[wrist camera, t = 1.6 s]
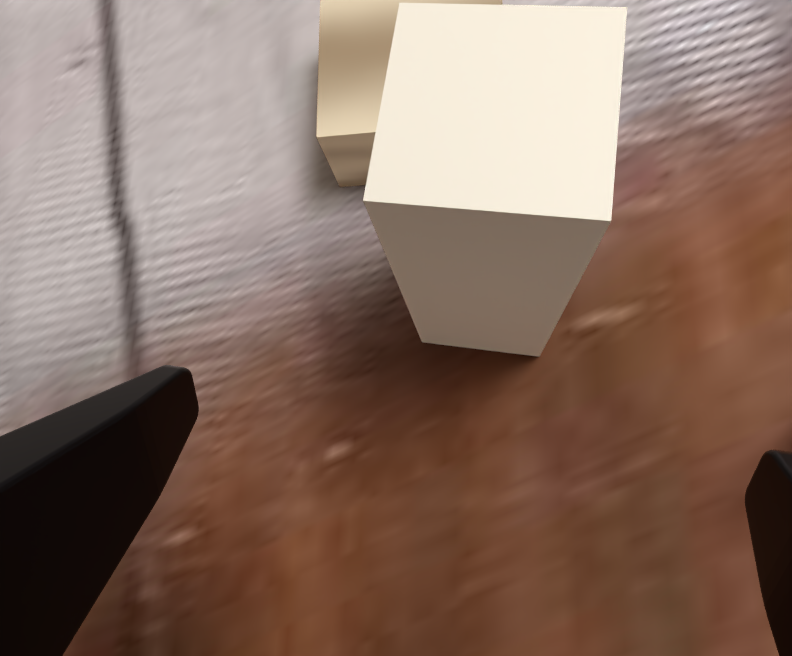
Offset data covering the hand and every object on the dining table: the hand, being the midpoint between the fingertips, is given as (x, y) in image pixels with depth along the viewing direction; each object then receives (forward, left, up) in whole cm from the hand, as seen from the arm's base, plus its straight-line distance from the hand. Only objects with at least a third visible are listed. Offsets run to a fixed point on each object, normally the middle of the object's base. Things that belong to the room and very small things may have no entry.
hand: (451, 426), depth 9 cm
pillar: (+4, +4, -12) cm, 14 cm away
